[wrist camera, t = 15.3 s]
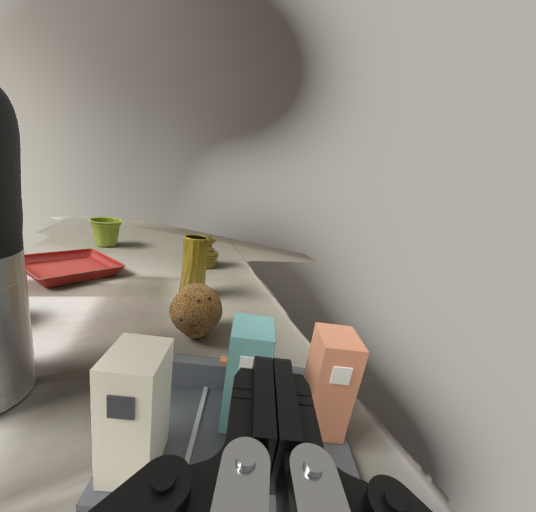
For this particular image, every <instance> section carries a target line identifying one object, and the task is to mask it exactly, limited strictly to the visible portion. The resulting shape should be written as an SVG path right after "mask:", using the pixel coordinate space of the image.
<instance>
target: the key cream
mask: <svg viewBox="0 0 536 512" xmlns="http://www.w3.org/2000/svg"><path fill="white" fill-rule="evenodd" d="M173 350H174V338H168V337H159V336H150V335H141V334H132V333H123V334H122V335H121V336H120V337H119V338H118V339H117V341H116V342H115V343H114V344H113V345H112V346H111V347H110V348H109V349H108V350H107V352H106V353H105V354H104V355H103V356H102V357H101V358H100V359H99V360H98V362H97V363H96V364H95V365H94V366H93V367H92V368H91V369H90V400H91V431H92V461H93V491H105V492H113V491H114V490H115V489H116V488H118V487H119V486H120V485H121V484H123V483H124V482H125V481H126V480H127V479H129V478H130V477H131V476H132V475H134V474H135V473H136V472H137V471H139V470H140V469H141V468H142V467H144V466H145V465H146V464H147V463H149V462H150V461H151V460H153V459H155V458H157V457H159V456H162V454H163V452H164V449H165V446H166V443H167V440H168V428H169V412H170V397H171V381H172V365H173Z"/></svg>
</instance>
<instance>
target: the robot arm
mask: <svg viewBox="0 0 536 512" xmlns="http://www.w3.org/2000/svg"><path fill="white" fill-rule="evenodd" d="M20 169H21V167H20V135H19V128H18V122H17V118H16V114H15V111H14V108H13V106H12V104H11V102H10V100H9V98H8V96H7V95H6V94H5V93H4V91H3V90H2V89H1V88H0V413H2V412H4V411H6V410H8V409H10V408H11V407H13V406H14V405H16V404H17V403H19V402H20V401H21V400H22V399H24V398H25V397H26V396H27V395H28V394H29V393H30V391H31V390H32V389H33V387H34V385H35V382H36V373H35V362H34V350H33V339H32V329H31V318H30V308H29V298H28V287H27V277H26V268H25V258H24V248H23V237H22V236H23V235H22V225H23V213H22V212H23V211H22V199H21V170H20ZM269 495H276V512H432V511H431V510H430V509H429V508H428V507H427V506H426V505H425V504H424V503H423V502H421V501H420V500H419V499H418V498H417V497H416V496H415V495H414V494H413V493H412V492H411V491H410V490H409V489H408V488H407V487H406V486H404V485H403V484H402V483H401V482H399V481H398V480H396V479H394V478H393V477H390V476H387V475H376V476H374V477H373V478H371V480H370V481H369V483H367V482H365V481H363V480H360V479H358V478H356V477H354V476H351V475H349V474H347V473H345V472H344V471H342V470H341V469H339V468H338V467H337V466H336V465H335V462H334V461H333V459H332V457H331V456H330V455H329V454H328V452H327V451H325V449H324V445H323V441H322V437H321V432H320V428H319V424H318V420H317V415H316V411H315V408H314V402H313V398H312V394H311V389H310V385H309V383H308V382H307V381H306V379H305V378H304V376H303V375H302V374H295V373H293V370H292V364H291V360H288V359H280V358H273V359H272V358H271V357H263V356H254V361H253V367H252V369H251V368H242V367H241V368H240V369H239V370H238V372H237V373H236V374H235V376H234V381H233V388H232V394H231V401H230V408H229V415H228V423H227V430H226V438H225V443H224V445H223V447H222V448H221V450H220V451H219V452H218V453H217V454H216V455H214V456H213V457H212V458H210V459H208V460H205V461H202V462H198V463H195V464H191V465H189V464H188V463H187V461H186V460H185V459H183V458H182V457H180V456H177V455H172V454H169V455H162V456H159V457H157V458H155V459H153V460H151V461H150V462H149V463H147V464H146V465H145V466H144V467H142V468H141V469H140V470H139V471H137V472H136V473H135V474H134V475H132V476H131V477H130V478H129V479H127V480H126V481H125V482H124V483H123V484H121V485H120V486H119V487H118V488H116V489H115V490H114V491H113V492H111V493H110V494H109V495H108V496H106V497H105V498H104V499H103V500H101V501H100V502H99V503H98V504H96V505H95V506H94V507H93V508H91V509H90V510H89V511H88V512H269Z"/></svg>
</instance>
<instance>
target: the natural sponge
mask: <svg viewBox="0 0 536 512" xmlns="http://www.w3.org/2000/svg"><path fill="white" fill-rule="evenodd" d="M169 314H170V318H171V320H172V322H173V324H174V325H175V326H176V328H178V329H179V330H180V331H181V332H183V333H184V334H185V335H187V336H188V337H190V338H193V339H197V338H201V337H203V336H204V335H205V334H207V333H208V332H209V331H210V330H211V329H212V328H213V327H214V326H215V325H216V324H217V323H218V322H219V320H220V319H221V316H222V305H221V301H220V298H219V296H218V295H217V293H216V292H215V291H214V290H213V289H211V288H210V287H208V286H207V285H204V284H201V283H193V284H189V285H187V286H185V287H184V288H182V289H181V290H180V291H179V292H178V293H177V295H176V296H175V298H174V299H173V301H172V302H171V304H170V307H169Z"/></svg>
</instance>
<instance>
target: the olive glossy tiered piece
mask: <svg viewBox="0 0 536 512" xmlns="http://www.w3.org/2000/svg"><path fill="white" fill-rule="evenodd" d="M205 236H206V237H208V247H207V261H206V269H213V268H216V267H217V262H218V260H217V259H216V258H218V255H219V254H218V252H217V251H215V249H214V248H213V247H212V244H213V243H214V242H215V241H216V239H215V238H214V237H212V236H211V235H205Z"/></svg>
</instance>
